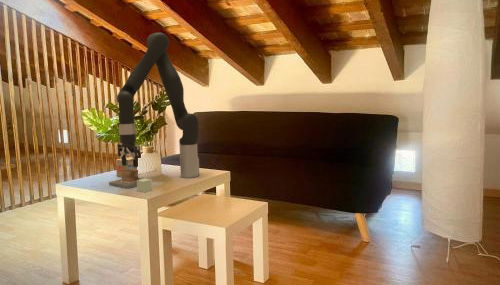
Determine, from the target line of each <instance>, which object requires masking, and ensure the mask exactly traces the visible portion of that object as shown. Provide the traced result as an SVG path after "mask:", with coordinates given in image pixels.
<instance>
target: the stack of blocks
mask: <svg viewBox="0 0 500 285" xmlns="http://www.w3.org/2000/svg"><path fill="white" fill-rule="evenodd" d="M142 150H143V149H140V153H141V154H142V153H143V151H142ZM153 150H154V152H155V153H156V150H155V149H153ZM133 153H134V152H133ZM137 155H138V153H137ZM134 157H135V155H134ZM126 162H127V165H124V166H123V165H122V160H121V158H117V159H115V170H116V176H117V177H119V178H122V172H121V171H124V170H129V169H133V170H137V167H133V158H132V156H130V155H129V157H126Z"/></svg>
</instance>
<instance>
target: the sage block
mask: <svg viewBox="0 0 500 285" xmlns="http://www.w3.org/2000/svg"><path fill="white" fill-rule="evenodd" d="M152 188H153V187H152V179H149V178H143V179H141V180H137V187H136V189H137V190H136V191H137V192H139V193H146V192H151V191H152V190H153V189H152Z"/></svg>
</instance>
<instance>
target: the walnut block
mask: <svg viewBox="0 0 500 285" xmlns="http://www.w3.org/2000/svg"><path fill="white" fill-rule="evenodd" d="M121 172H122V177H121V179H122V181H124V182H129V183H130V182H134V181H137V180H138V178H139V175H138V170H133V169H129V170H124V171H121Z"/></svg>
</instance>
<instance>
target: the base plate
mask: <svg viewBox="0 0 500 285" xmlns="http://www.w3.org/2000/svg"><path fill="white" fill-rule="evenodd" d="M141 179H144V178H143V177H138V180H141ZM108 185H109V186H112V187H117V188H121V189H127V190H129V189H132V188H137V181H134V182H130V183H129V182H124V181H122V178H121V179H116V180H112V181H109V182H108Z"/></svg>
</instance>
